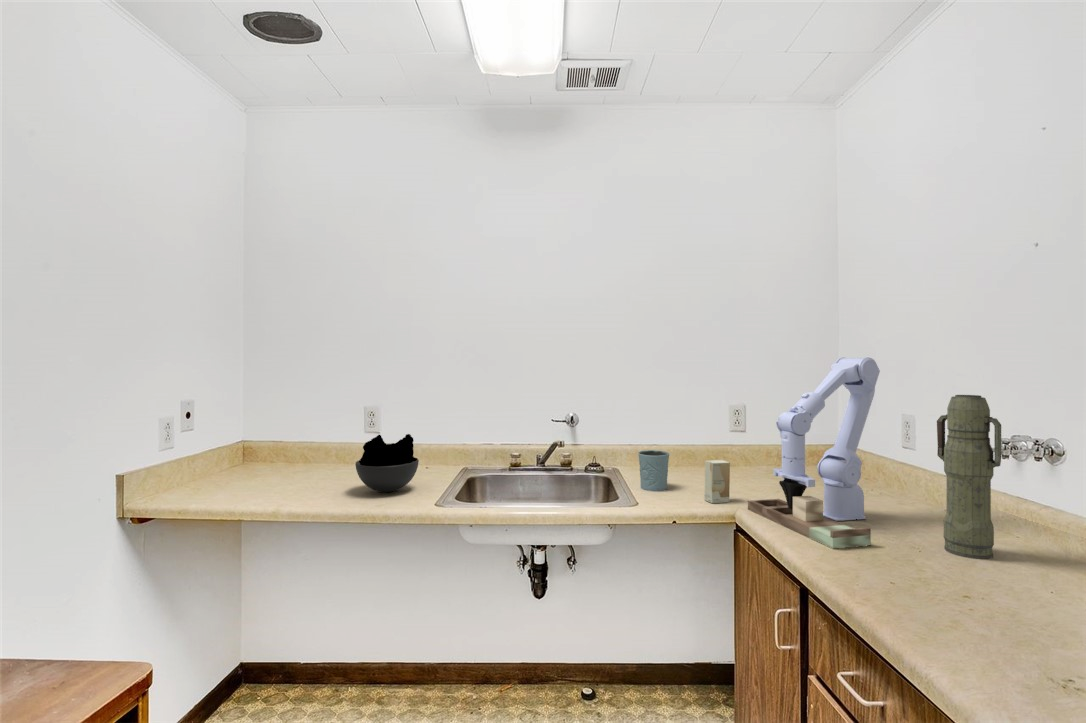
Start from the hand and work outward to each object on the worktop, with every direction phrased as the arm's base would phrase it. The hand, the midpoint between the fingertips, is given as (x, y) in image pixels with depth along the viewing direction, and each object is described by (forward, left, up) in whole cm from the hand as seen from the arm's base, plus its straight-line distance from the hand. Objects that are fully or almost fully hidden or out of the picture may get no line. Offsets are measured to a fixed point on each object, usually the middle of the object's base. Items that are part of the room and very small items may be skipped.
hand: (793, 508), depth 147 cm
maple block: (0, +6, -1) cm, 6 cm away
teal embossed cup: (+21, -43, -4) cm, 48 cm away
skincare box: (+9, -23, -4) cm, 25 cm away
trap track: (0, +4, -3) cm, 5 cm away
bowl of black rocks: (+108, -58, -4) cm, 123 cm away
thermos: (-23, +29, -4) cm, 37 cm away
